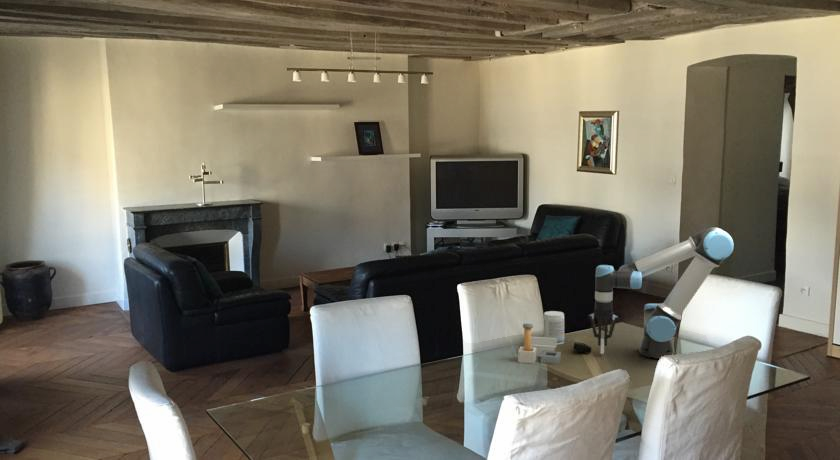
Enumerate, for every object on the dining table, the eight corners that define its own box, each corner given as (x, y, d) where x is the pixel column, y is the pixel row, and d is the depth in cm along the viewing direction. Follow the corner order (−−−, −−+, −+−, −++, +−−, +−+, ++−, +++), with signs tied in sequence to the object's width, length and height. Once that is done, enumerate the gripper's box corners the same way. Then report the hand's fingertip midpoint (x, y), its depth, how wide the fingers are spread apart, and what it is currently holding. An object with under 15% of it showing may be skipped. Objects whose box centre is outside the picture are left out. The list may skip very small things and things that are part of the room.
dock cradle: (556, 348, 331) (556, 337, 331) (554, 357, 318) (554, 346, 317) (528, 346, 335) (528, 336, 334) (524, 355, 321) (524, 344, 320)
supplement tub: (568, 343, 339) (568, 313, 337) (556, 347, 333) (556, 316, 331) (551, 339, 346) (551, 309, 344) (539, 343, 340) (539, 313, 338)
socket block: (536, 358, 316) (536, 347, 316) (534, 363, 310) (534, 352, 309) (520, 357, 318) (520, 346, 318) (518, 362, 311) (518, 351, 311)
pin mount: (560, 358, 316) (561, 352, 316) (559, 364, 308) (559, 357, 308) (542, 357, 318) (542, 350, 318) (540, 362, 310) (540, 356, 310)
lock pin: (533, 359, 315) (533, 323, 313) (531, 362, 311) (531, 326, 309) (523, 358, 316) (523, 323, 314) (521, 361, 312) (522, 325, 310)
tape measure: (576, 353, 320) (578, 345, 320) (570, 348, 327) (571, 340, 327) (590, 355, 322) (592, 347, 322) (583, 350, 328) (585, 342, 328)
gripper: (619, 299, 318) (617, 351, 321) (588, 297, 321) (587, 349, 324) (619, 303, 311) (617, 356, 314) (588, 301, 314) (586, 354, 317)
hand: (602, 352), depth 319 cm, fingers closed
